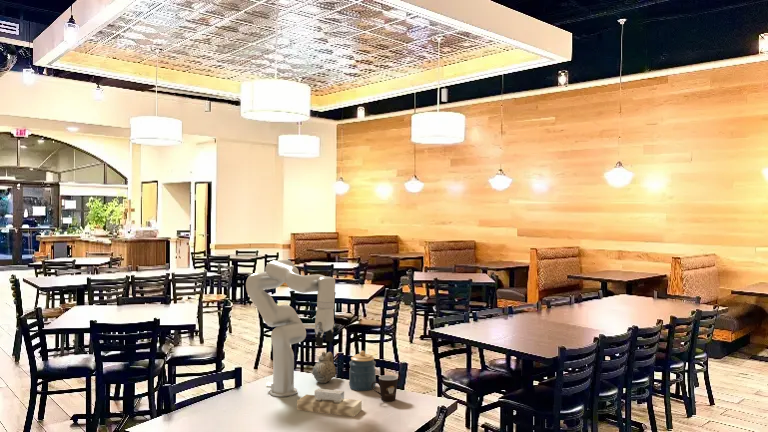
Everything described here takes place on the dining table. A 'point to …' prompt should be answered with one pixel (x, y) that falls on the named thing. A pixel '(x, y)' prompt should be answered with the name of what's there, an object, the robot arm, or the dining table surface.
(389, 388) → the coffee mug
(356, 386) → the canister
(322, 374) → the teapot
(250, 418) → the dining table surface
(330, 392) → the grey arched block
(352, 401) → the rail
